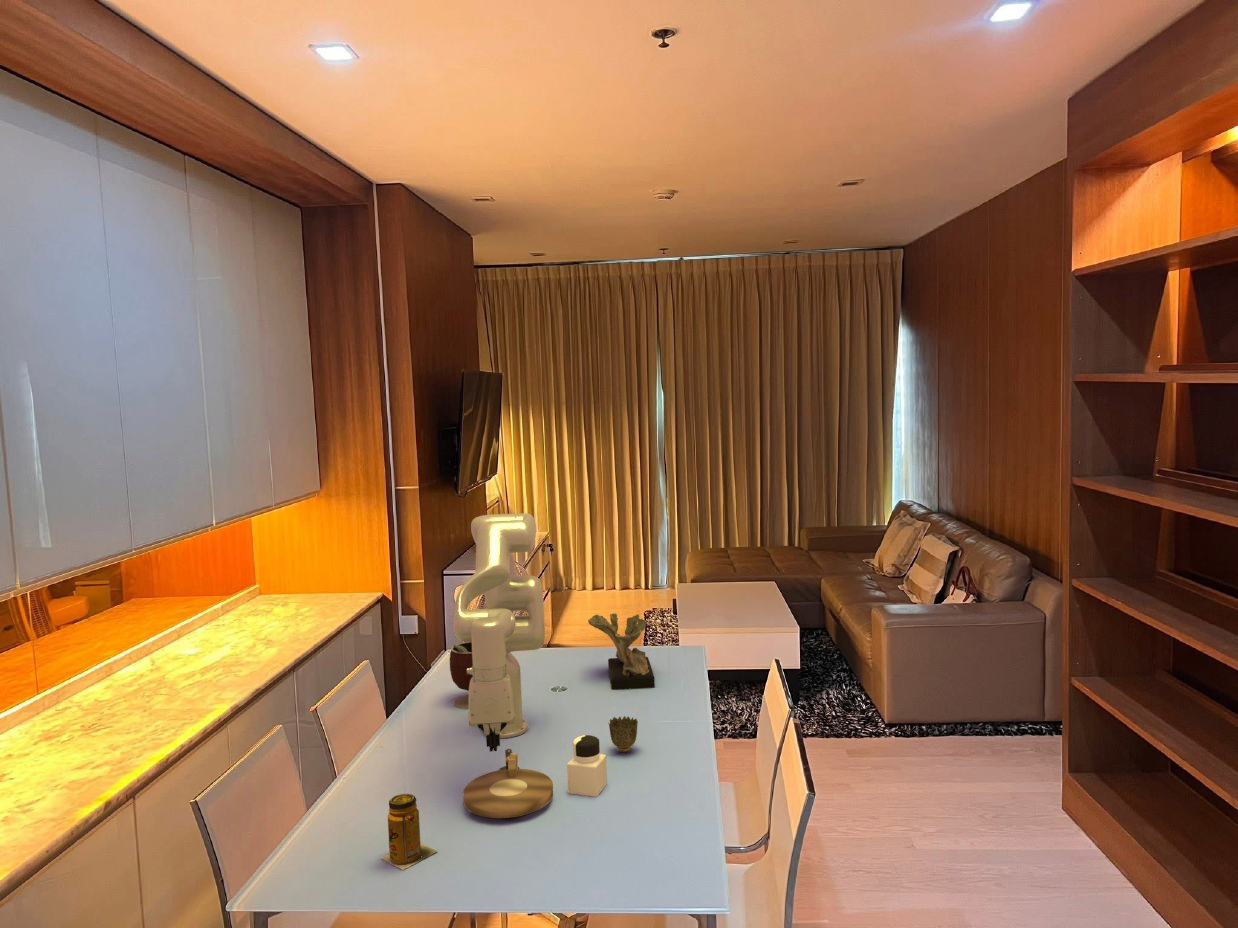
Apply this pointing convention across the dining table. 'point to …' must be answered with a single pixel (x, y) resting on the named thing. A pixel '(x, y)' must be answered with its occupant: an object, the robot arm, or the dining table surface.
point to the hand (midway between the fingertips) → (493, 748)
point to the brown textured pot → (623, 733)
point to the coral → (626, 654)
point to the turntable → (508, 792)
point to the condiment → (405, 833)
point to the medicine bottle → (587, 767)
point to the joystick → (507, 754)
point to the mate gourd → (461, 670)
